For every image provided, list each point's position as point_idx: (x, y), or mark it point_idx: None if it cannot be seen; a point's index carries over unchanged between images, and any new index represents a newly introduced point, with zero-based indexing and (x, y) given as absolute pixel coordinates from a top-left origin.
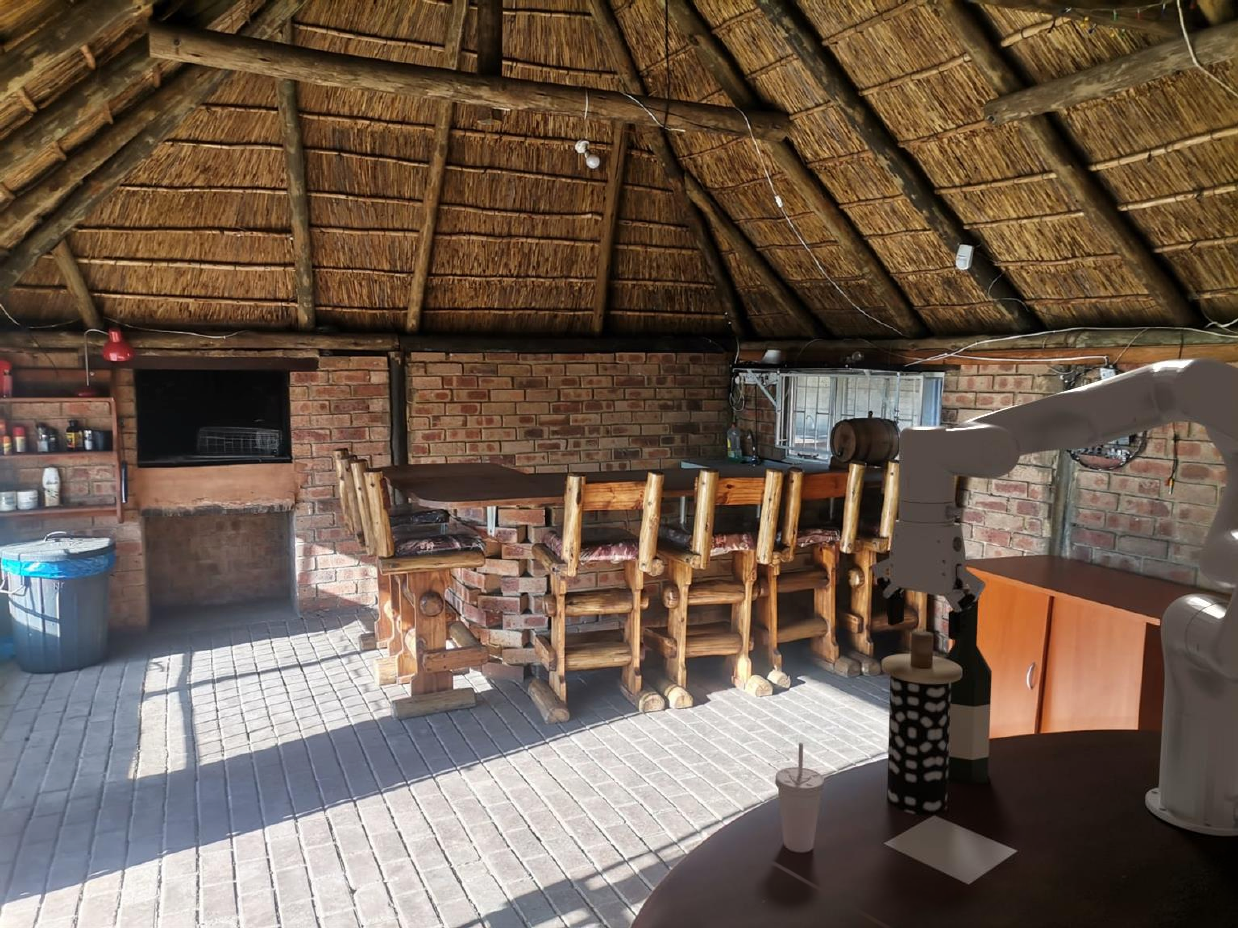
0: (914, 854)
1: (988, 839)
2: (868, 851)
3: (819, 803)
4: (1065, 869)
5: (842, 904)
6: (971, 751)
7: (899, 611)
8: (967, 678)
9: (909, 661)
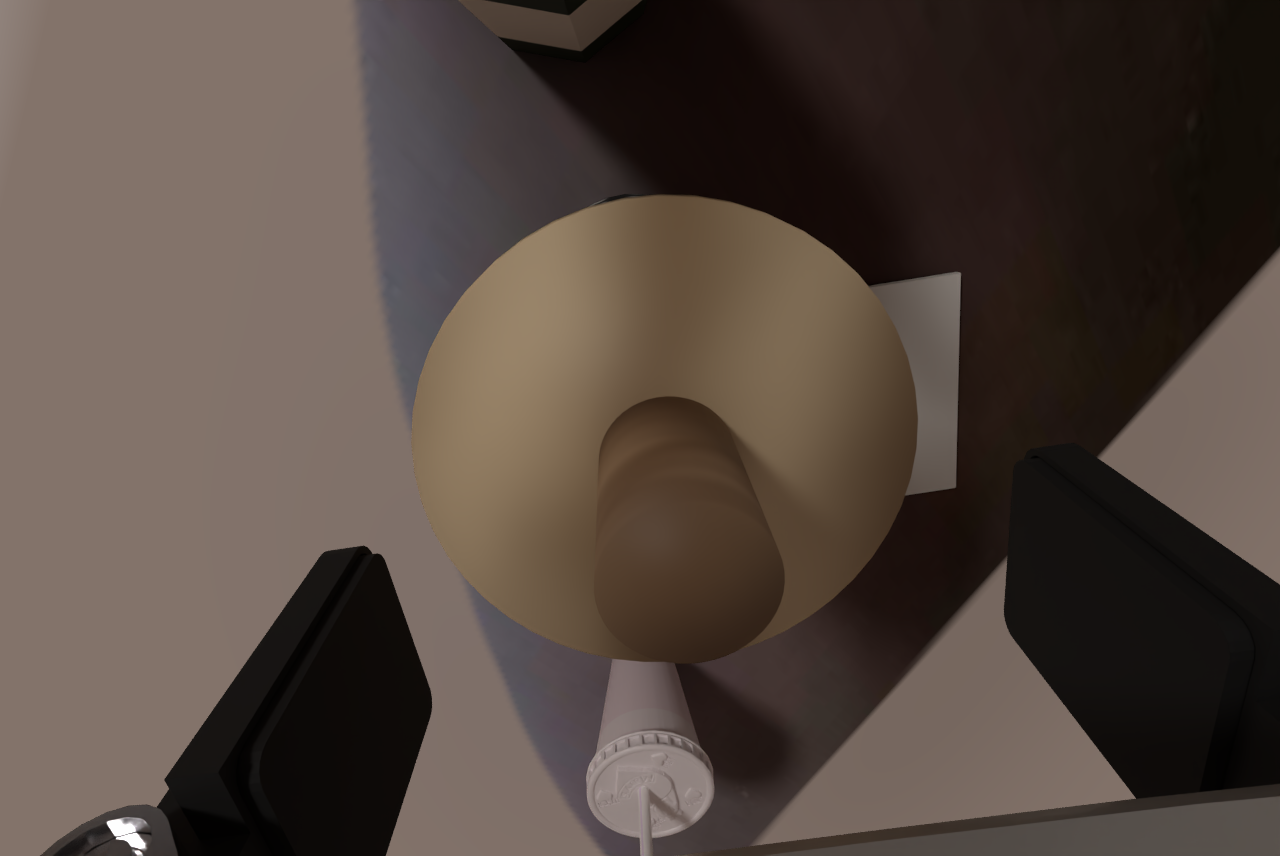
0: None
1: (884, 290)
2: None
3: (687, 719)
4: (1071, 229)
5: (832, 705)
6: None
7: (364, 702)
8: None
9: (567, 462)
